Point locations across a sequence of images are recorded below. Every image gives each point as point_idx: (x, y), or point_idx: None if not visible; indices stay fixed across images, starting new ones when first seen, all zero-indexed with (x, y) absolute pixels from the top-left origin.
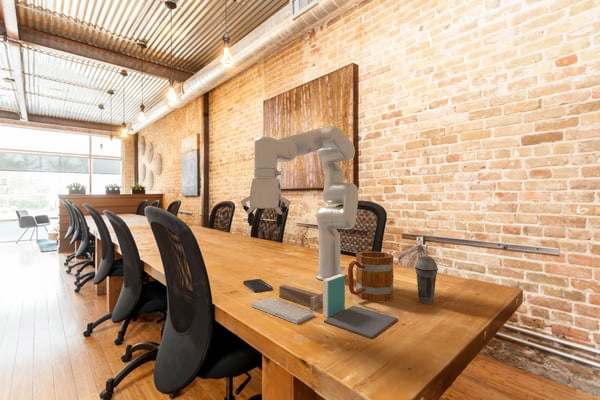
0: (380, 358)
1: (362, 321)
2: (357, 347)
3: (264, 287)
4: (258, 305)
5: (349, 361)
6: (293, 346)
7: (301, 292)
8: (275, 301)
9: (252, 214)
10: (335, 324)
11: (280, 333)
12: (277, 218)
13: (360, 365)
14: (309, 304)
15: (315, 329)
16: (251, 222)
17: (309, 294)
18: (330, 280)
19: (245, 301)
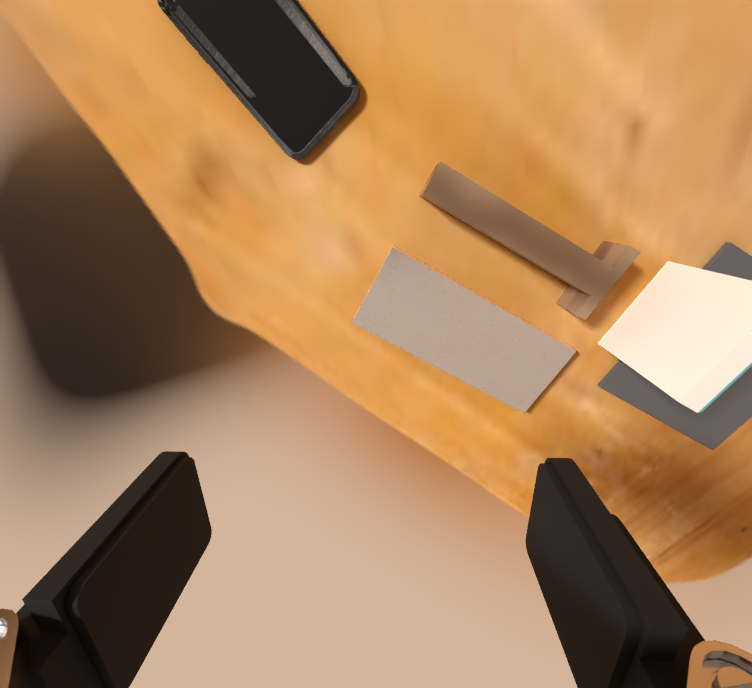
0: (700, 510)
1: None
2: (663, 483)
3: (315, 89)
4: (382, 338)
5: (634, 525)
6: (523, 498)
7: (536, 262)
8: (428, 290)
9: (107, 657)
10: (631, 404)
11: (486, 456)
12: (576, 658)
13: (652, 532)
14: (555, 276)
15: (571, 425)
16: (191, 558)
17: (571, 280)
18: (712, 399)
19: (310, 275)
